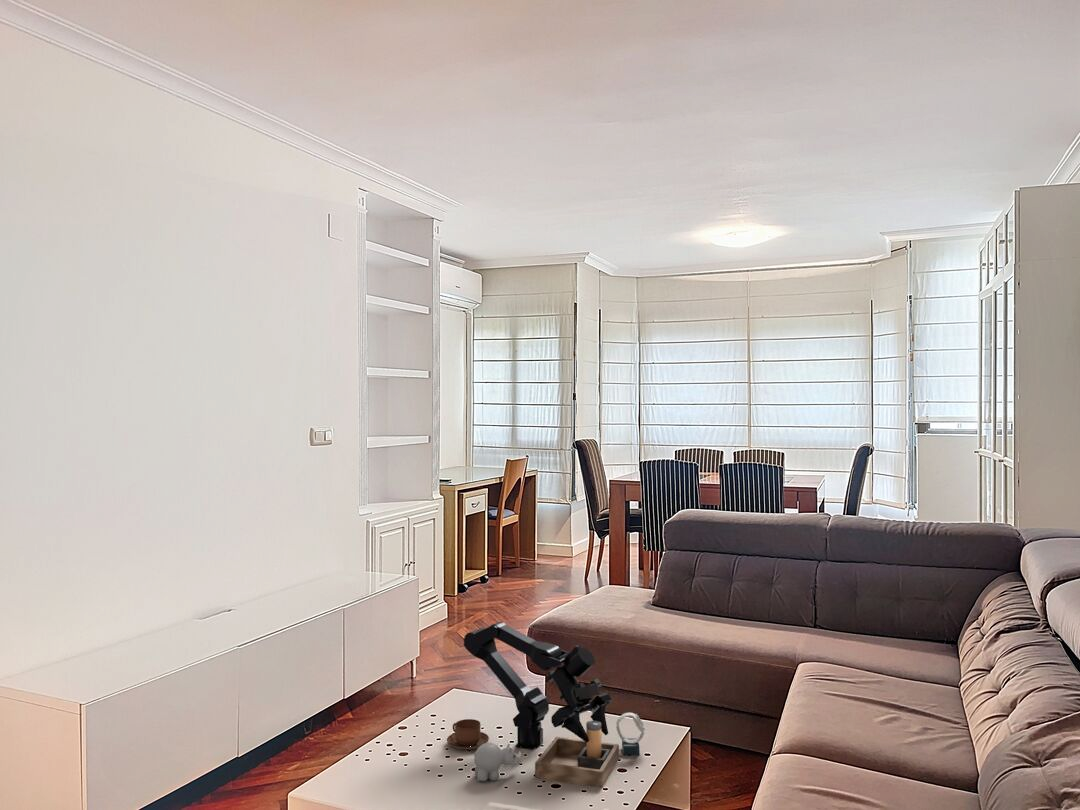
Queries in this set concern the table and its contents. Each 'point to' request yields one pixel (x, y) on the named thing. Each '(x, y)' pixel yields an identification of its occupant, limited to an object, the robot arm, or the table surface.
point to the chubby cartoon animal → (493, 760)
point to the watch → (631, 744)
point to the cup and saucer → (467, 735)
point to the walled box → (576, 762)
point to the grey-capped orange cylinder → (594, 739)
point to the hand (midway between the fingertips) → (597, 738)
